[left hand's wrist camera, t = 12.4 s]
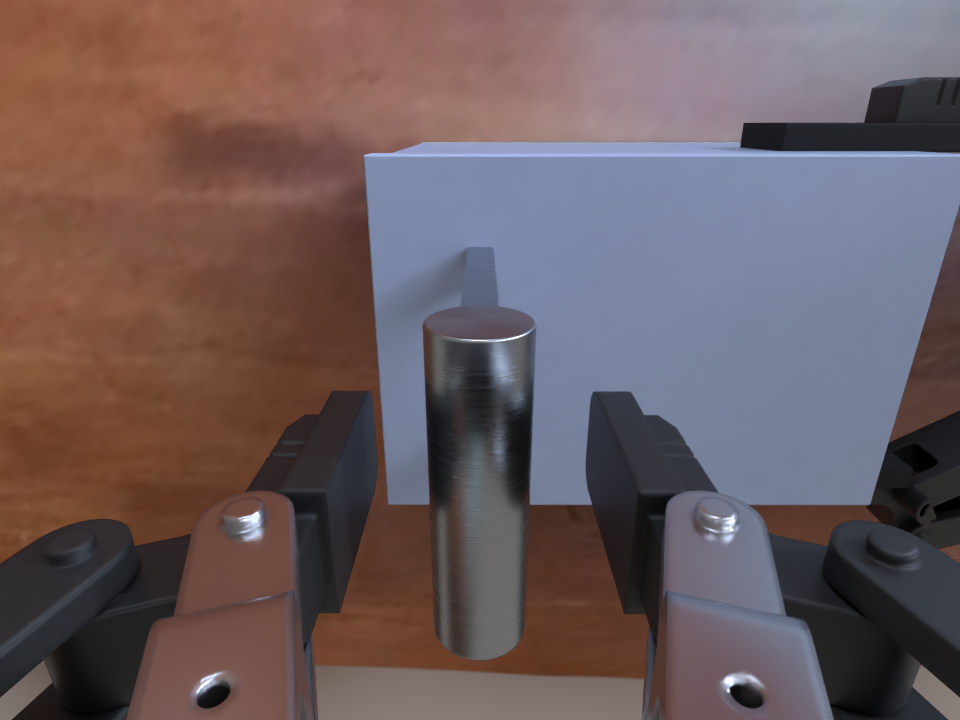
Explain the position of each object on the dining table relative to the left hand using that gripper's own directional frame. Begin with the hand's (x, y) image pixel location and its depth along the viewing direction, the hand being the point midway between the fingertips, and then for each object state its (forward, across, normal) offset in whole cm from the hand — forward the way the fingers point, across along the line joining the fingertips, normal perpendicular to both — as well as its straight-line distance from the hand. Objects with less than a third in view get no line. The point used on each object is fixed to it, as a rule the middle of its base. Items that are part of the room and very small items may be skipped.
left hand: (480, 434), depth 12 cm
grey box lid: (+6, -5, 0) cm, 7 cm away
